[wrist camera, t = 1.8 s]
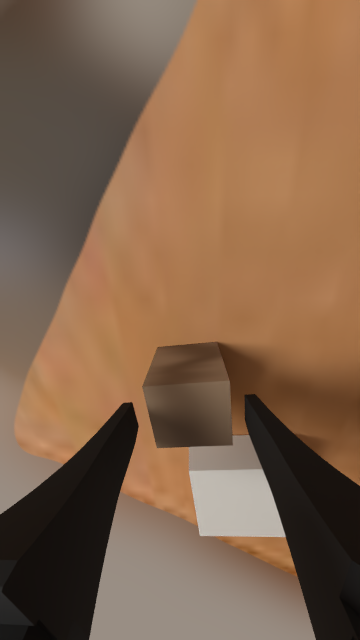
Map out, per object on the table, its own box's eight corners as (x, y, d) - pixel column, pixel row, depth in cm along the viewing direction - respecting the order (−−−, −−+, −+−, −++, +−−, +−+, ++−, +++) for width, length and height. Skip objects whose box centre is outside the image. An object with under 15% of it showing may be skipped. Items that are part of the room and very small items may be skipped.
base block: (291, 433, 17) (312, 468, 14) (285, 497, 20) (301, 537, 17) (189, 437, 18) (189, 470, 15) (198, 498, 21) (199, 535, 18)
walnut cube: (216, 341, 14) (229, 380, 10) (220, 390, 16) (232, 445, 11) (157, 346, 15) (142, 386, 10) (166, 394, 16) (157, 447, 12)
